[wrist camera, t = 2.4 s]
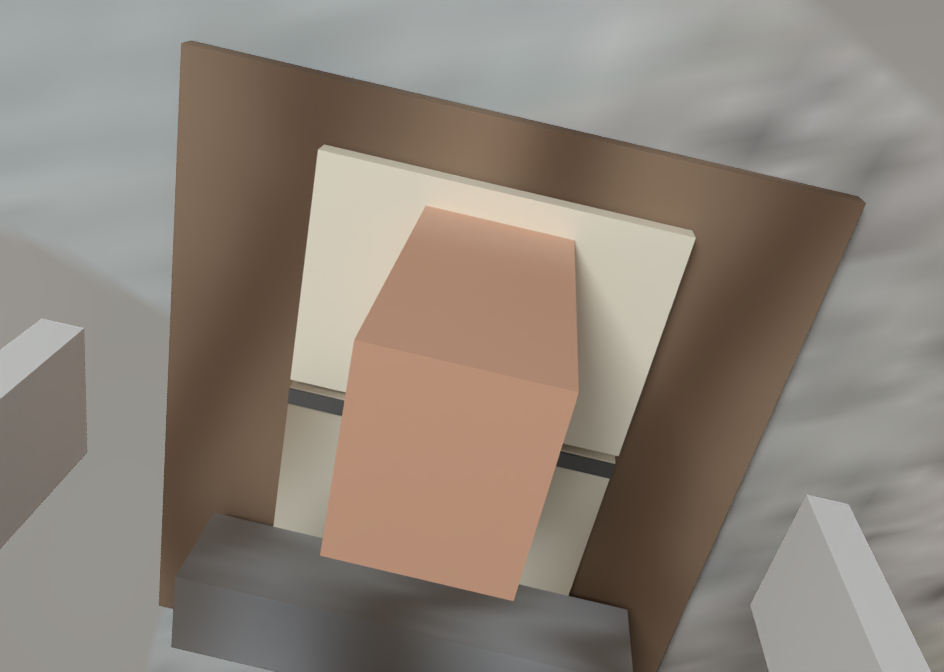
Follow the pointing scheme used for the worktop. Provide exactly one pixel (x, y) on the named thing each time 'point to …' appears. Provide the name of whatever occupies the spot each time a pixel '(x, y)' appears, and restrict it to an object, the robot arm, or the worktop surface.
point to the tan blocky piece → (468, 356)
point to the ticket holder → (320, 409)
